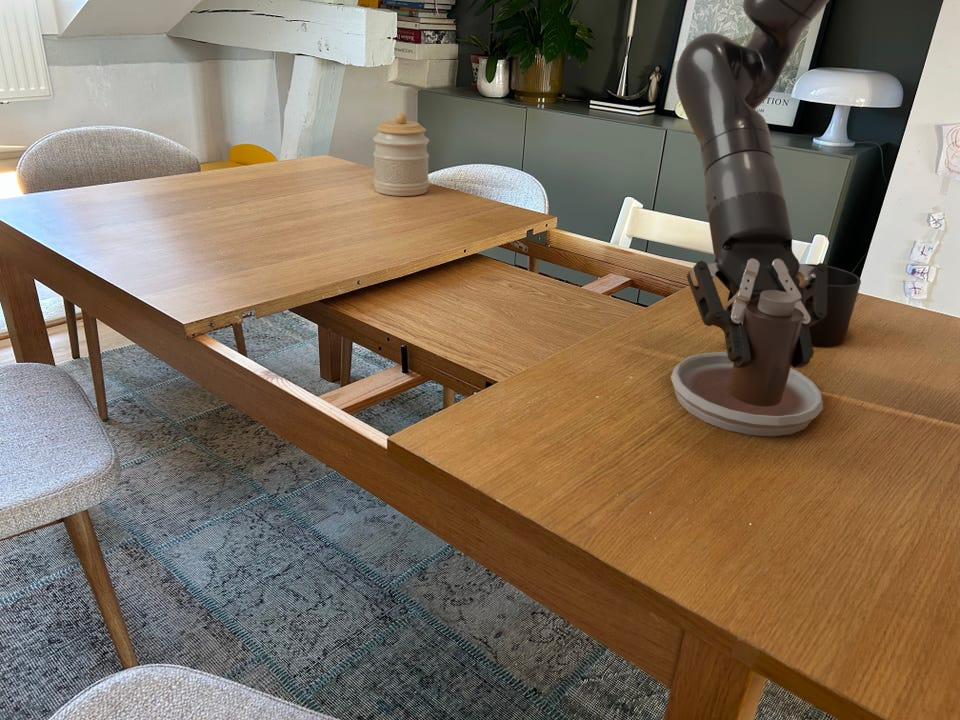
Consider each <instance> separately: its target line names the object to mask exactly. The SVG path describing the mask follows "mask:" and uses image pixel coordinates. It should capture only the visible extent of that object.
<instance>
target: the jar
mask: <svg viewBox="0 0 960 720" xmlns="http://www.w3.org/2000/svg"><path fill="white" fill-rule="evenodd" d="M376 131H377V134H376V135H374V136H373V138H372V141H373V142H374V144H375V147H374V151H373V153H372V155H373V175H374V176H373V187H374V190H375V192H378V193H379V194H383V195H387V196H394V197H395V196H396V197H397V196H398V197H413V196H419V195H423V194H426V193H427V192H428V190H429V186H430V184H429V182H430V180H429V158H430V154H429V152H428V145H429V143H430V139H429V138H428V137H427V136H426V135H425V133H426V131H427V129H426V127H424V126H422V125H421V124H420V122H416V121H409V120H408V116H407V114H406V113H404V112H398V113H397V114H396V115H395V119H394V120H386V121H383V122H382V123H381V124H380V125H378V126H377V127H376Z"/></svg>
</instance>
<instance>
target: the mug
mask: <svg viewBox="0 0 960 720" xmlns="http://www.w3.org/2000/svg"><path fill="white" fill-rule="evenodd" d="M803 264H804V265H808V266H813V267H815V266H816V265H817V264H814V263H803ZM826 266H827V268H828V288H827V315H826V317H824V318H823V319H821V320H819V321H818V322H816V323H815V324H814V325H813V326H811V327H809V331H810V336H811V341H812V342H811V343H812V347H823V348H824V347H835V346H839V345H841V344H842V343H843V342H844V341H845V339H846V337H847V333H848V329H849V325H850V322H851V320H852V316H853V312H854V308H855V304H856V302H857V299H858V294H859V291H860V288H861V287H860V286H861V284H862V280H861V277H859V276H858V275H856V274H854V273H853V272H850V271H848V270H845V269H842V268H838V267H835V266H830V265H826ZM793 282H794V284H795V285H796V287H797V289H798V290H799V292H800V294H801V296H802V299H801V302H802V303H803V288H801V287H800V286H799V284H800V282H799V279H798V277H796V276H795V278H794V279H793Z"/></svg>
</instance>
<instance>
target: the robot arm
mask: <svg viewBox="0 0 960 720" xmlns="http://www.w3.org/2000/svg"><path fill="white" fill-rule="evenodd" d="M829 2H830V0H743V3H742V7H743V8H742V9H743V11H744V13H745V15H746V17H747V18H748V20H750V22H752V24H753V25H754V26H755V27H754V30H753V32H752V35H751V37H750V39H749V41H748V43H747V44H746V46H745V45H743V44H741V43H740V42H738V41H735V40H734V39H732V38H730V37H728V36H725V35H723V34H720V33H715V32H708V33H707V32H706V33H703V34H700V35H699V36H698V35H697V36H696V37H695V38H693V39H692V40H691V41H690V42H689V43H688V44H687V45H686V46H685V48H683V50H682V51H681V54H680V56H679V59H678V62H677V66H676V71H675V84H676V86H675V87H676V92H677V95H678V98H679V101H680V104H681V107H682V110H683V111H684V113H685V116H686V119H687V120H688V123H689V125H690V127H691V129H692V131H693V134H694V135H695V137H696V138H697V141H698V143H699V146H700V154H701V161H702V162H701V163H702V168H703V174H704V182H705V184H704V187H705V188H704V196H705V210H706V213H707V217H708V222H709V231H710V236H711V243H712V244H711V245H712V251H713V254H714V256H715V259H714V262H711V263H707V262H706V261H703V260H698V261H697V262H696V263H695V264H694V265H693V266H692V267H691V269H690V270H689V271H688V273H687V274H686V279H687V281H688V284H689V287H690V290H691V293H692V295H693V298H694V301H695V304H696V307H697V308H698V312H699V315H700V318H701V322H702V323H703V324H704V325H705V326H707V327H712V326H715V327H718V328H720V329H721V330H722V331H723V334H724V340H725V347H726V353H727V355H728V358H729V360H730V362H734V366H735V367H736V368H743V367H745V366H746V365H748V364H749V363H750V362H751V354H750V348H749V341H748V335H747V329H746V325H742V323H743V319H744V315H745V311H746V306H747V304H748V303H750V302H753V301H759V298H760V294H761V292H762V291H765V290H778V291H783V292H787V293H789V294H792V295H793V296H795V297H796V304H795V308H797V309H799V310H800V311H801V312H802V313H803V314H804V319H803V323H802V327H801V330H800V334H799V338H798V342H797V346H796V349H795V353H794V357H793V361H792V365H791V368H792V369H794V368H795V369H801V368H803V367H805V366H807V365H809V363H810V361H811V359H813V357H814V346H812V343H811V342H812V341H811V336H810V331H809V327H811V326H813V325H814V324H815V323H816V322H818V321H819V320H821V319H823V318H824V317H826V315H827V288H828V268H827V266H828V265H826V264H825V263H824V262H820V263H817V264H816V266H815V267H813V266H808V265H804V264H805V263H800V261H799V259H798V258H797V257H796V255H795V254H794V252H793V233H792V229H791V223H790V218H789V213H788V212H789V211H788V207H787V203H786V198H785V197H786V195H785V191H784V186H783V181H782V177H781V175H780V172H779V169H778V166H777V163H776V159H775V155H774V148H773V142H772V137H771V133H770V128H769V125H768V123H767V121H766V119H765V118H764V116H763V115H762V114H761V113H759V112H758V110H756V109H757V108H758V107H760V106H761V105H762V104H763V103H764V102H765V101H766V100H767V98H768V97H769V96H770V94H771V93H772V91H773V90H774V88H775V86H776V85H777V83H778V81H779V79H780V77H781V75H782V73H783V71H784V70H785V67H786V65H787V63H788V62H789V60H790V58H791V56H792V54H793V52H794V51H795V48H796V46H797V44H798V42H799V41H800V38H801V37H802V34H803V32H805V29H806V28H807V27H808V26H809V25H810V24H811V23H812V21H813V20H814V19H815V18H816V17H817V16H818V14H819V13H820V12H821V11H822V10H823V9H824V7H826V5H827V4H828V3H829ZM795 276H796V277H798V279H799V282H800V284H799V286H800V287H801V288H803V303H802V302H801V299H802V296H801V294H800V292H799V290H798V289H797V287H796V285H795V284H794V282H793V279H794V278H795ZM716 279H718V280H719V281H720V282H721V284H723V286H724V287H725V288H726V289H727V290H728V291H727V294H726V298H725V302H724V306H723V303H722V300H721V298H720V295H719V292H718V289H717V287H716V284H715V282H716Z"/></svg>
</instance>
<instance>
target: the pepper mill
mask: <svg viewBox="0 0 960 720" xmlns="http://www.w3.org/2000/svg"><path fill="white" fill-rule="evenodd" d="M795 304H796V297H795V296H793V295H792V294H789V293H787V292H783V291H778V290H765V291H762V292H761V294H760V298H759V301H753V302H750V303H748V304H747V306H746V311H745V315H744V319H743V321H742V325H746V329H747V335H748V341H749V348H750V354H751V362H750V363H749V364H748V365H746V366H745V367H743V368H736V367H735V366H734V363H733V368H732V372H731V376H730V381H729V385H728V391H729V393H730V394H731V395H732V396H733V397H734V398H736V399H737V400H739V401H742V402H744V403H747V404H750V405H755V406H763V407H769V406H775V405H778V404H779V403H781V401H782V399H783V395H784V391H785V387H786V383H787V380H788V376H789V372H790V368H792V361H793V357H794V353H795V349H796V346H797V342H798V338H799V334H800V330H801V327H802V323H803V319H804V314H803V313H802V312H801V311H800V310H799V309H797V308H795Z"/></svg>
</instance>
